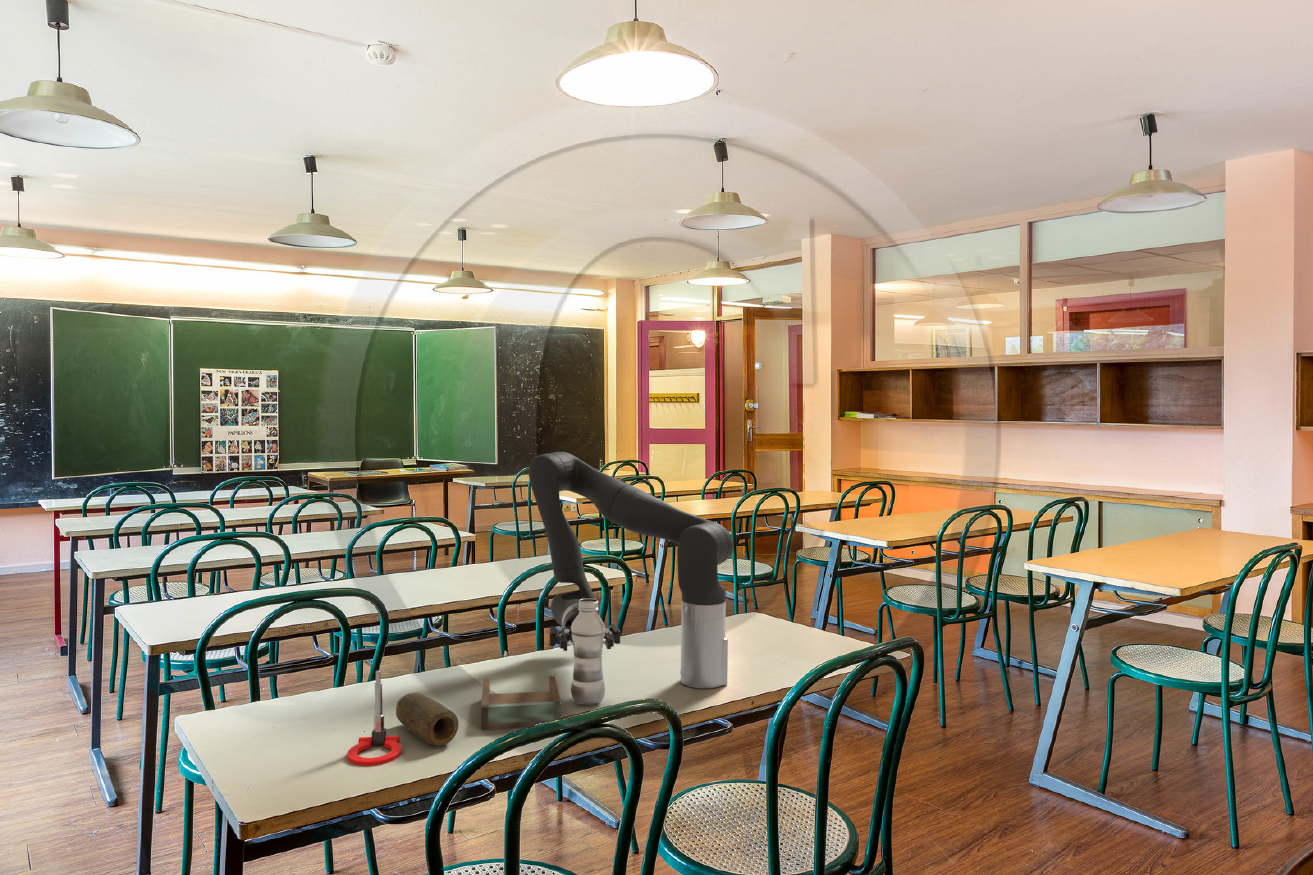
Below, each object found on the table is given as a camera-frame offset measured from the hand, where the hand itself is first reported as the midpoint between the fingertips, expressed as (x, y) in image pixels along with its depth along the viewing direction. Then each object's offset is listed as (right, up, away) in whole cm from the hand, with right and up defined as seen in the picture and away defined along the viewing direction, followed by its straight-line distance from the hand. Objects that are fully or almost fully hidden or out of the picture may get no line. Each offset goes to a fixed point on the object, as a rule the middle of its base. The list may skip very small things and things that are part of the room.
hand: (587, 645), depth 167 cm
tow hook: (-33, -12, -26) cm, 44 cm away
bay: (-12, -11, -6) cm, 17 cm away
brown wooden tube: (-27, -12, -17) cm, 34 cm away
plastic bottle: (0, -11, -1) cm, 11 cm away
